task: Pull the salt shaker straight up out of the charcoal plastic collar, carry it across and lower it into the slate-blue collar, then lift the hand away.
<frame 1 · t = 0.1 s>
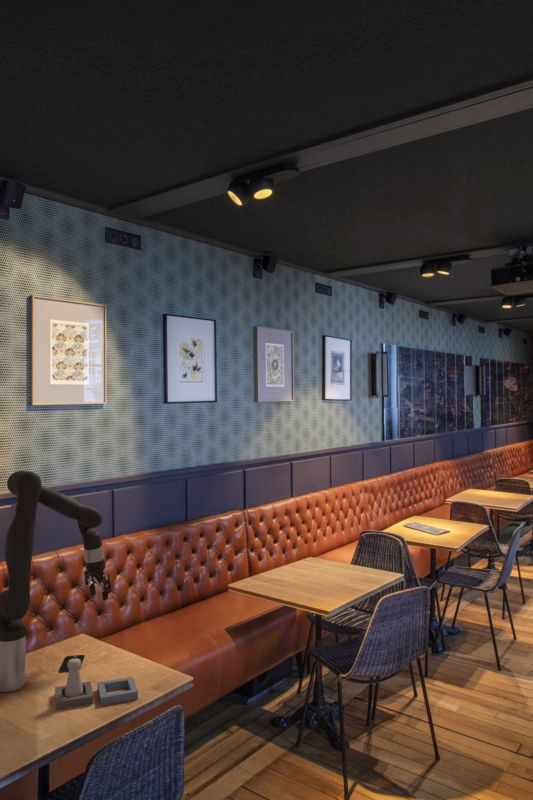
hand: (99, 597, 232), 22 cm above the table, tool pointing down, fingers open, 8 cm apart
salt shaker: (73, 699, 194), resting in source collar
smartphone: (72, 665, 223), on the table
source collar: (73, 699, 194), on the table
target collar: (117, 694, 198), on the table
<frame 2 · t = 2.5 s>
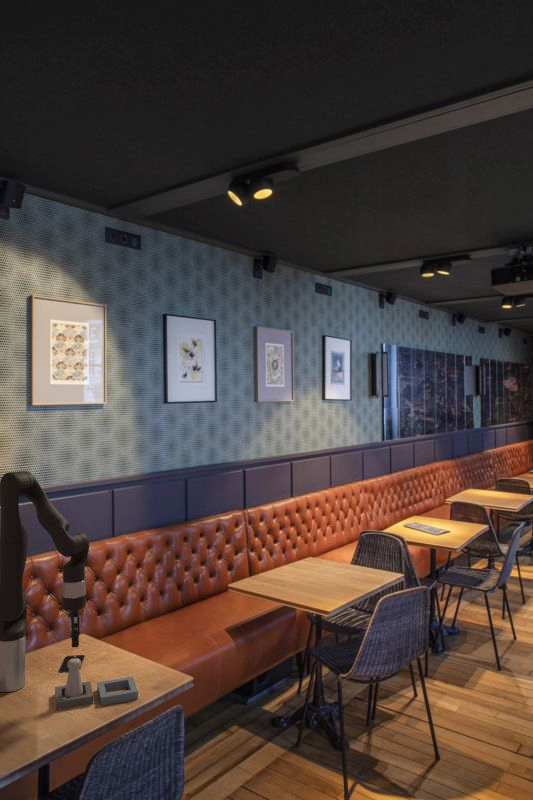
hand: (74, 642, 195), 19 cm above the table, tool pointing down, fingers open, 8 cm apart
nothing on the table moved.
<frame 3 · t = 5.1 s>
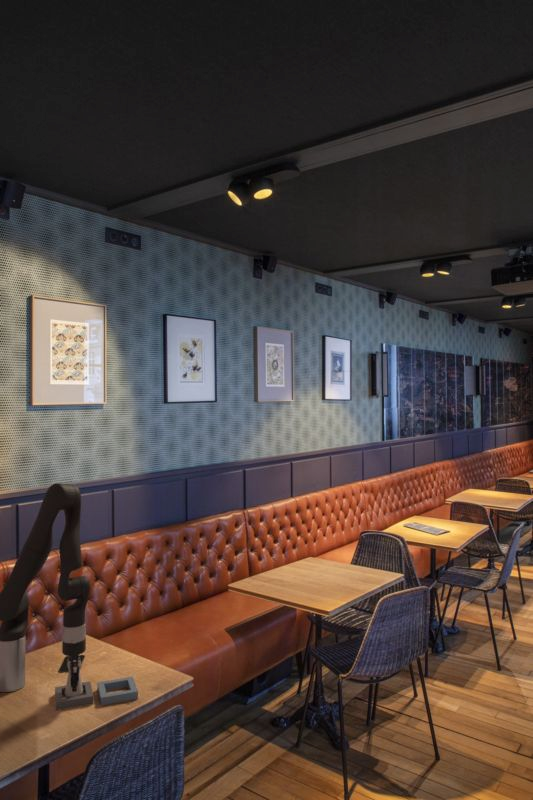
hand: (73, 689, 195), 3 cm above the table, tool pointing down, fingers closed on salt shaker, 3 cm apart
salt shaker: (73, 699, 194), resting in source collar, touching gripper
everything else where it was.
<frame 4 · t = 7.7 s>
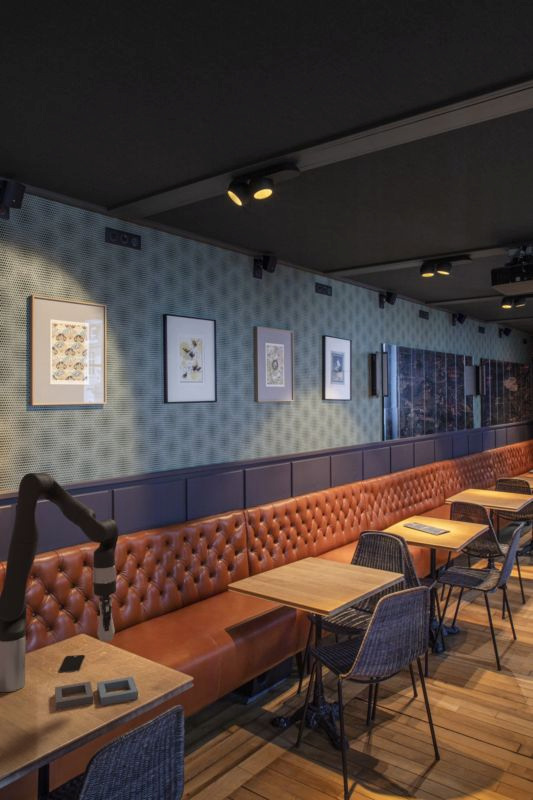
hand: (105, 630, 198), 22 cm above the table, tool pointing down, fingers closed on salt shaker, 3 cm apart
salt shaker: (106, 639, 198), point 19 cm above the table, touching gripper
everything else where it was.
when the fingers open (4 cm above the table, at t = 10.7 s): salt shaker stays where it is, resting in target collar.
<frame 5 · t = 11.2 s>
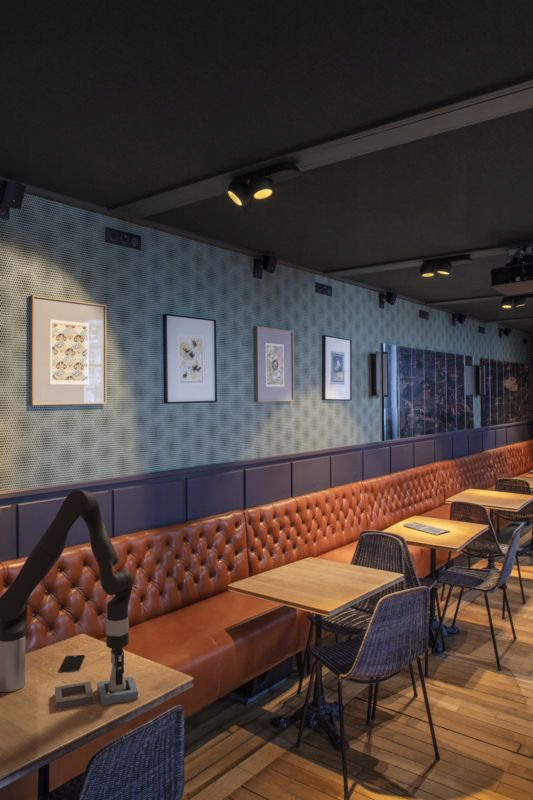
hand: (117, 679, 198), 5 cm above the table, tool pointing down, fingers open, 8 cm apart
salt shaker: (117, 694, 198), resting in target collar
everything else where it was.
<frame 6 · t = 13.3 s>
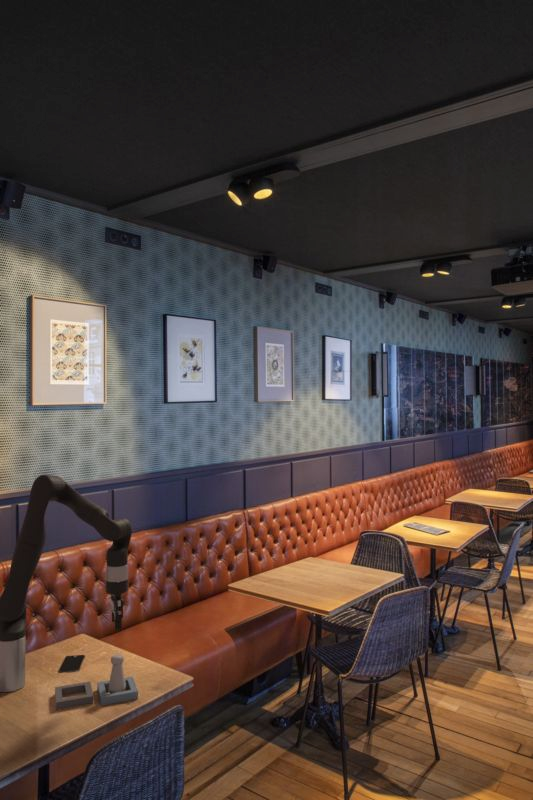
hand: (116, 625, 199), 23 cm above the table, tool pointing down, fingers open, 8 cm apart
nothing on the table moved.
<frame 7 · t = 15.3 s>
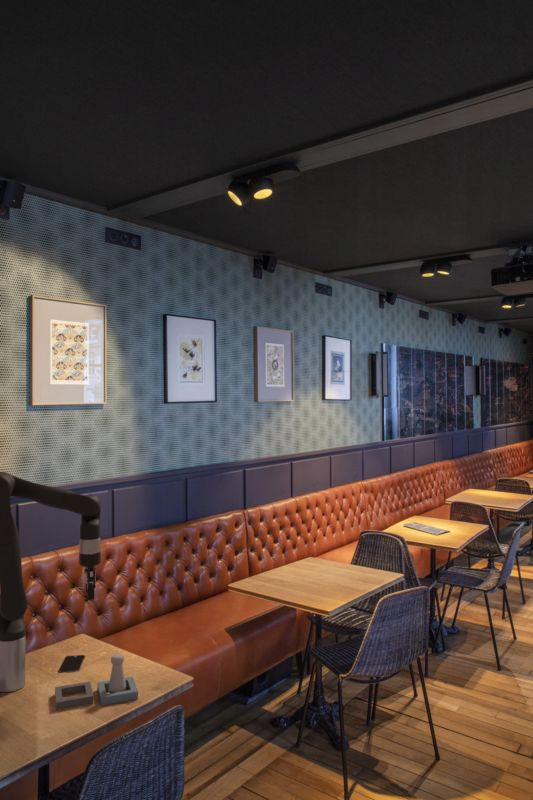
hand: (89, 596, 209), 30 cm above the table, tool pointing down, fingers open, 8 cm apart
nothing on the table moved.
at the end: salt shaker 0.1 cm off-centre on the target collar, point 0.0 cm above the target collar's base; salt shaker tilted 0°; the gripper is holding nothing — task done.
